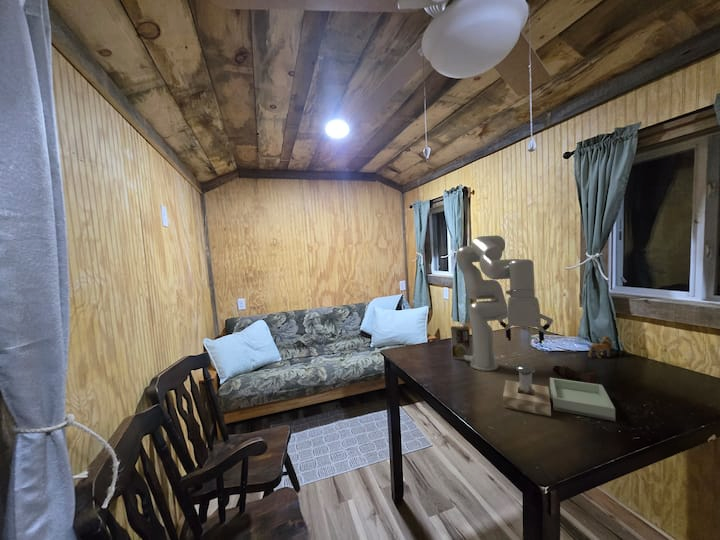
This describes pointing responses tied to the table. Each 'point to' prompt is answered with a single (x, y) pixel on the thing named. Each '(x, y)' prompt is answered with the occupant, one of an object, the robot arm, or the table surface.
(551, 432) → the table surface
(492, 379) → the table surface
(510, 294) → the robot arm
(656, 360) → the table surface
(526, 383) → the pin
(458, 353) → the coffee box
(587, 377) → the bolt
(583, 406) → the tray
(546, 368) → the table surface
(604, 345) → the lion figurine
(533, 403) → the socket block
